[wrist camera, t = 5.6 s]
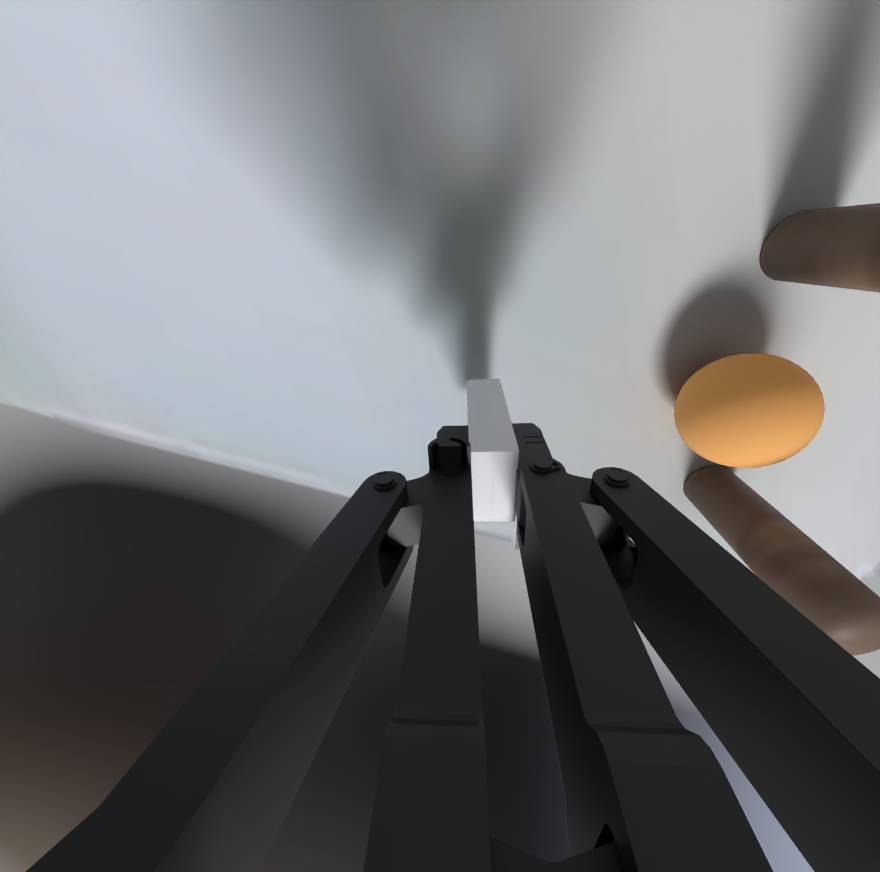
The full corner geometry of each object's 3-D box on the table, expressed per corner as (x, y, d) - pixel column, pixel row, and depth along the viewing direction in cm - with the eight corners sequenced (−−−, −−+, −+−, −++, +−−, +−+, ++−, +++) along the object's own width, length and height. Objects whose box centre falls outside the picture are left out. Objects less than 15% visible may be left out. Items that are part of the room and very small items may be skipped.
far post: (690, 465, 20) (838, 609, 12) (739, 464, 20) (922, 611, 12) (678, 502, 21) (806, 654, 13) (724, 502, 21) (881, 656, 13)
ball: (710, 335, 18) (669, 360, 15) (856, 350, 14) (839, 385, 12) (685, 426, 20) (646, 461, 17) (806, 457, 17) (782, 507, 14)
